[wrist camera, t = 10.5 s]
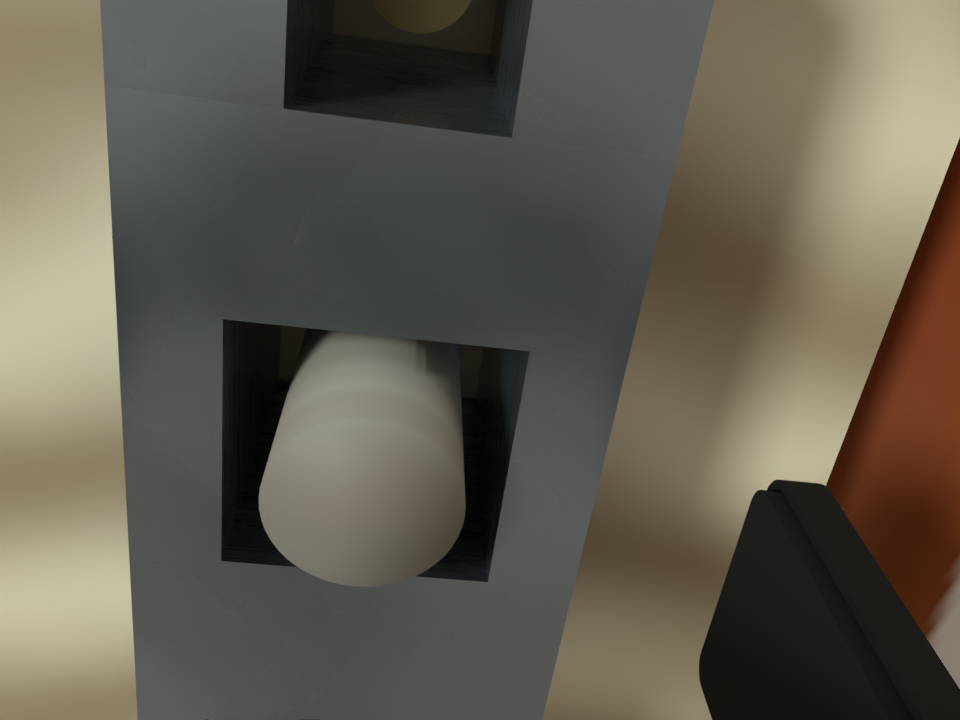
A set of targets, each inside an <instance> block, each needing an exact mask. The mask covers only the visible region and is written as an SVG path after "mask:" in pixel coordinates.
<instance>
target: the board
mask: <svg viewBox="0 0 960 720" xmlns="http://www.w3.org/2000/svg"><path fill="white" fill-rule="evenodd" d="M496 4H497V0H335V10H334V27H333V34H339V35H346V36H354V37H361V38H368V39H376V40H383V41H391V42H398V43H405V44H413V45H420V46H427V47H435V48H442V49H450V50H457V51H464V52H472V53H479V54H487V55H490V48H491V41H492V34H493V26H494V19H495V12H496ZM959 138H960V0H714V3H713V7H712V11H711V15H710V20H709V24H708V28H707V32H706V36H705V41H704V45H703V49H702V53H701V57H700V61H699V66H698V70H697V74H696V78H695V82H694V87H693V91H692V95H691V99H690V103H689V108H688V112H687V116H686V120H685V124H684V128H683V133H682V137H681V141H680V145H679V149H678V154H677V158H676V162H675V166H674V170H673V174H672V179H671V183H670V187H669V191H668V195H667V200H666V204H665V208H664V212H663V216H662V220H661V225H660V229H659V233H658V237H657V241H656V246H655V250H654V254H653V258H652V262H651V267H650V271H649V275H648V279H647V283H646V287H645V292H644V296H643V300H642V304H641V308H640V313H639V317H638V321H637V325H636V329H635V333H634V338H633V342H632V346H631V350H630V354H629V359H628V363H627V367H626V371H625V375H624V379H623V384H622V388H621V392H620V396H619V400H618V405H617V409H616V413H615V417H614V421H613V425H612V430H611V434H610V438H609V442H608V446H607V451H606V455H605V459H604V463H603V467H602V472H601V476H600V480H599V484H598V488H597V492H596V497H595V501H594V505H593V509H592V513H591V518H590V522H589V526H588V530H587V534H586V538H585V543H584V547H583V551H582V555H581V559H580V564H579V568H578V572H577V576H576V580H575V584H574V589H573V593H572V597H571V601H570V605H569V610H568V614H567V618H566V622H565V626H564V630H563V635H562V639H561V643H560V647H559V651H558V656H557V660H556V664H555V668H554V672H553V677H552V681H551V685H550V689H549V693H548V697H547V702H546V706H545V710H544V714H543V718H542V720H712V718H711V715H710V712H709V709H708V706H707V703H706V700H705V697H704V694H703V691H702V688H701V684H700V678H699V660H700V655H701V651H702V648H703V645H704V642H705V639H706V636H707V633H708V630H709V627H710V624H711V621H712V618H713V615H714V612H715V608H716V605H717V602H718V599H719V596H720V593H721V590H722V587H723V584H724V581H725V578H726V575H727V572H728V569H729V566H730V563H731V560H732V557H733V554H734V551H735V548H736V545H737V542H738V539H739V536H740V533H741V530H742V527H743V524H744V521H745V518H746V515H747V512H748V509H749V506H750V503H751V500H752V498H753V495H754V494H755V493H756V492H757V491H758V490H767V488H768V486H769V485H770V484H771V483H772V482H773V481H775V480H777V479H778V480H789V481H799V482H809V483H819V484H823V485H825V486H826V484H827V482H828V479H829V476H830V474H831V471H832V469H833V466H834V463H835V461H836V458H837V456H838V453H839V450H840V448H841V445H842V443H843V440H844V437H845V435H846V432H847V430H848V427H849V424H850V422H851V419H852V417H853V414H854V411H855V409H856V406H857V404H858V401H859V398H860V396H861V393H862V391H863V388H864V385H865V383H866V380H867V378H868V375H869V372H870V370H871V367H872V365H873V362H874V359H875V357H876V354H877V352H878V349H879V346H880V344H881V341H882V339H883V336H884V333H885V331H886V328H887V326H888V323H889V320H890V318H891V315H892V313H893V310H894V307H895V305H896V302H897V300H898V297H899V294H900V292H901V289H902V287H903V284H904V281H905V279H906V276H907V274H908V271H909V268H910V266H911V263H912V261H913V258H914V255H915V253H916V250H917V248H918V245H919V242H920V240H921V237H922V235H923V232H924V229H925V227H926V224H927V222H928V219H929V216H930V214H931V211H932V208H933V206H934V203H935V201H936V198H937V195H938V193H939V190H940V188H941V185H942V182H943V180H944V177H945V175H946V172H947V169H948V167H949V164H950V162H951V159H952V156H953V154H954V151H955V149H956V146H957V143H958V141H959ZM483 347H484V346H474V345H465V344H455V343H446V342H436V341H427V340H417V339H407V338H398V337H388V336H379V335H369V334H359V333H350V332H340V331H331V330H321V329H311V328H302V327H292V326H283V325H281V346H280V372H279V379H287V380H291V383H290V386H289V390H288V393H287V397H286V400H285V403H284V407H283V410H282V414H281V417H280V421H279V424H278V427H277V431H276V434H275V438H274V441H273V444H272V448H271V451H270V455H269V458H268V461H267V465H266V468H265V472H264V475H263V479H262V482H261V485H260V491H259V512H260V516H261V521H262V523H263V526H264V529H265V531H266V533H267V535H268V536H269V538H270V540H271V541H272V543H273V544H274V545H275V547H276V548H277V549H278V550H279V552H280V553H281V554H282V555H283V556H284V557H285V558H286V559H288V560H289V561H290V562H292V563H293V564H294V565H295V566H297V567H299V568H300V569H302V570H303V571H305V572H307V573H309V574H311V575H313V576H315V577H317V578H320V579H323V580H326V581H329V582H333V583H337V584H341V585H348V586H359V587H372V586H383V585H389V584H394V583H397V582H401V581H404V580H407V579H410V578H412V577H415V576H417V575H419V574H421V573H422V572H424V571H426V570H428V569H429V568H431V567H432V566H433V565H435V564H436V563H437V562H438V561H440V560H441V559H442V558H443V557H444V556H445V555H446V554H447V552H448V551H449V550H450V549H451V548H452V546H453V545H454V543H455V541H456V540H457V538H458V536H459V534H460V531H461V529H462V526H463V522H464V518H465V508H466V503H465V478H464V453H463V428H462V403H461V397H469V398H476V392H477V385H478V379H479V372H480V366H481V360H482V353H483ZM0 720H138V716H137V697H136V678H135V659H134V639H133V620H132V601H131V582H130V563H129V544H128V525H127V506H126V487H125V468H124V449H123V430H122V411H121V391H120V372H119V353H118V334H117V315H116V296H115V277H114V258H113V239H112V220H111V201H110V182H109V163H108V143H107V124H106V105H105V86H104V67H103V48H102V29H101V10H100V0H0Z"/></svg>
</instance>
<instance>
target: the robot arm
mask: <svg viewBox="0 0 960 720" xmlns="http://www.w3.org/2000/svg"><path fill="white" fill-rule="evenodd" d="M699 678H700V684H701V688H702V691H703V694H704V697H705V700H706V703H707V706H708V709H709V712H710V715H711V718H712V720H960V689H959V688H958V686H957V685H956V683H955V682H954V680H953V679H952V677H951V675H950V674H949V672H948V671H947V669H946V668H945V666H944V665H943V663H942V662H941V660H940V659H939V657H938V655H937V654H936V652H935V651H934V649H933V648H932V646H931V645H930V643H929V642H928V640H927V639H926V637H925V636H924V634H923V633H922V631H921V630H920V628H919V626H918V625H917V623H916V622H915V620H914V619H913V617H912V616H911V614H910V613H909V611H908V610H907V608H906V607H905V605H904V604H903V602H902V600H901V599H900V597H899V596H898V594H897V593H896V591H895V590H894V588H893V587H892V585H891V584H890V582H889V581H888V579H887V578H886V576H885V575H884V573H883V571H882V570H881V568H880V567H879V565H878V564H877V562H876V561H875V559H874V558H873V556H872V555H871V553H870V552H869V550H868V549H867V547H866V545H865V544H864V542H863V541H862V539H861V538H860V536H859V535H858V533H857V532H856V530H855V529H854V527H853V526H852V524H851V523H850V521H849V520H848V518H847V516H846V515H845V513H844V512H843V510H842V509H841V507H840V506H839V504H838V503H837V501H836V500H835V498H834V497H833V495H832V494H831V492H830V490H829V489H828V488H827V487H826V486H825V485H823V484H819V483H809V482H799V481H789V480H778V479H777V480H775V481H773V482H772V483H771V484H770V485H769V486H768V488H767V490H758V491H757V492H756V493H755V494H754V495H753V498H752V500H751V503H750V506H749V509H748V512H747V515H746V518H745V521H744V524H743V527H742V530H741V533H740V536H739V539H738V542H737V545H736V548H735V551H734V554H733V557H732V560H731V563H730V566H729V569H728V572H727V575H726V578H725V581H724V584H723V587H722V590H721V593H720V596H719V599H718V602H717V605H716V608H715V612H714V615H713V618H712V621H711V624H710V627H709V630H708V633H707V636H706V639H705V642H704V645H703V648H702V651H701V655H700V660H699Z"/></svg>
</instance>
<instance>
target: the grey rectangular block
mask: <svg viewBox="0 0 960 720" xmlns="http://www.w3.org/2000/svg"><path fill="white" fill-rule="evenodd" d="M713 3H714V0H497V4H496V12H495V19H494V26H493V34H492V41H491V48H490V55H487V54H479V53H472V52H464V51H457V50H450V49H442V48H435V47H427V46H420V45H413V44H405V43H398V42H391V41H383V40H376V39H368V38H361V37H354V36H346V35H339V34H333V27H334V10H335V0H100V10H101V29H102V48H103V67H104V86H105V105H106V124H107V143H108V163H109V182H110V201H111V220H112V239H113V258H114V277H115V296H116V315H117V334H118V353H119V372H120V391H121V411H122V430H123V449H124V468H125V487H126V506H127V525H128V544H129V563H130V582H131V601H132V620H133V639H134V659H135V678H136V697H137V716H138V720H542V718H543V714H544V710H545V706H546V702H547V697H548V693H549V689H550V685H551V681H552V677H553V672H554V668H555V664H556V660H557V656H558V651H559V647H560V643H561V639H562V635H563V630H564V626H565V622H566V618H567V614H568V610H569V605H570V601H571V597H572V593H573V589H574V584H575V580H576V576H577V572H578V568H579V564H580V559H581V555H582V551H583V547H584V543H585V538H586V534H587V530H588V526H589V522H590V518H591V513H592V509H593V505H594V501H595V497H596V492H597V488H598V484H599V480H600V476H601V472H602V467H603V463H604V459H605V455H606V451H607V446H608V442H609V438H610V434H611V430H612V425H613V421H614V417H615V413H616V409H617V405H618V400H619V396H620V392H621V388H622V384H623V379H624V375H625V371H626V367H627V363H628V359H629V354H630V350H631V346H632V342H633V338H634V333H635V329H636V325H637V321H638V317H639V313H640V308H641V304H642V300H643V296H644V292H645V287H646V283H647V279H648V275H649V271H650V267H651V262H652V258H653V254H654V250H655V246H656V241H657V237H658V233H659V229H660V225H661V220H662V216H663V212H664V208H665V204H666V200H667V195H668V191H669V187H670V183H671V179H672V174H673V170H674V166H675V162H676V158H677V154H678V149H679V145H680V141H681V137H682V133H683V128H684V124H685V120H686V116H687V112H688V108H689V103H690V99H691V95H692V91H693V87H694V82H695V78H696V74H697V70H698V66H699V61H700V57H701V53H702V49H703V45H704V41H705V36H706V32H707V28H708V24H709V20H710V15H711V11H712V7H713ZM281 325H283V326H292V327H302V328H311V329H321V330H331V331H340V332H350V333H359V334H369V335H379V336H388V337H398V338H407V339H417V340H427V341H436V342H446V343H455V344H465V345H474V346H484V347H483V353H482V360H481V366H480V372H479V379H478V385H477V392H476V398H469V397H461V403H462V428H463V453H464V478H465V503H466V508H465V518H464V522H463V526H462V529H461V531H460V534H459V536H458V538H457V540H456V541H455V543H454V545H453V546H452V548H451V549H450V550H449V551H448V552H447V554H446V555H445V556H444V557H443V558H442V559H441V560H440V561H438V562H437V563H436V564H435V565H433V566H432V567H431V568H429V569H428V570H426V571H424V572H422V573H421V574H419V575H417V576H415V577H412V578H410V579H407V580H404V581H401V582H397V583H394V584H389V585H383V586H372V587H359V586H348V585H341V584H337V583H333V582H329V581H326V580H323V579H320V578H317V577H315V576H313V575H311V574H309V573H307V572H305V571H303V570H302V569H300V568H299V567H297V566H295V565H294V564H293V563H292V562H290V561H289V560H288V559H286V558H285V557H284V556H283V555H282V554H281V553H280V552H279V550H278V549H277V548H276V547H275V545H274V544H273V543H272V541H271V540H270V538H269V536H268V535H267V533H266V531H265V529H264V526H263V523H262V521H261V516H260V512H259V491H260V485H261V482H262V479H263V475H264V472H265V468H266V465H267V461H268V458H269V455H270V451H271V448H272V444H273V441H274V438H275V434H276V431H277V427H278V424H279V421H280V417H281V414H282V410H283V407H284V403H285V400H286V397H287V393H288V390H289V386H290V383H291V380H287V379H279V372H280V346H281Z"/></svg>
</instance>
